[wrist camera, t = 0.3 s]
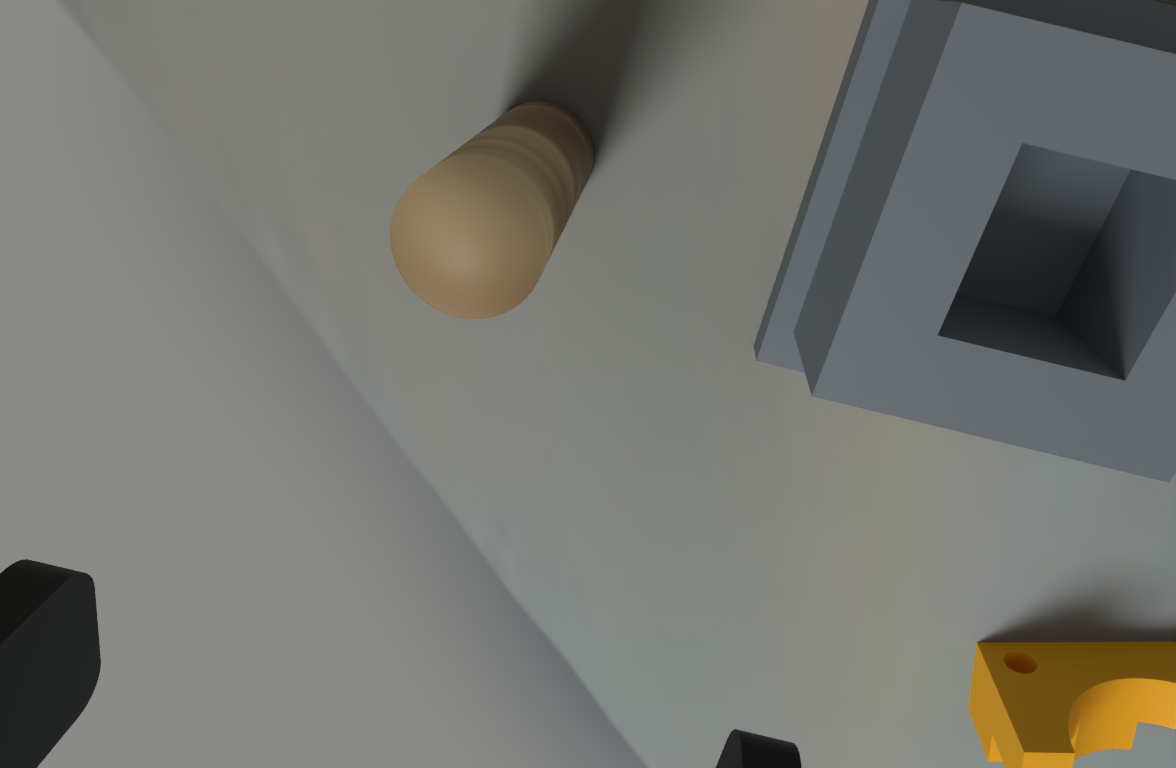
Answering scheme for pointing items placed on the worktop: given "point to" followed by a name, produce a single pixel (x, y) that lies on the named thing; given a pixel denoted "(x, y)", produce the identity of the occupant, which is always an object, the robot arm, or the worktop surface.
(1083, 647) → the pipe clamp
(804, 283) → the socket block
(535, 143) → the oak peg
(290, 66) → the worktop surface
